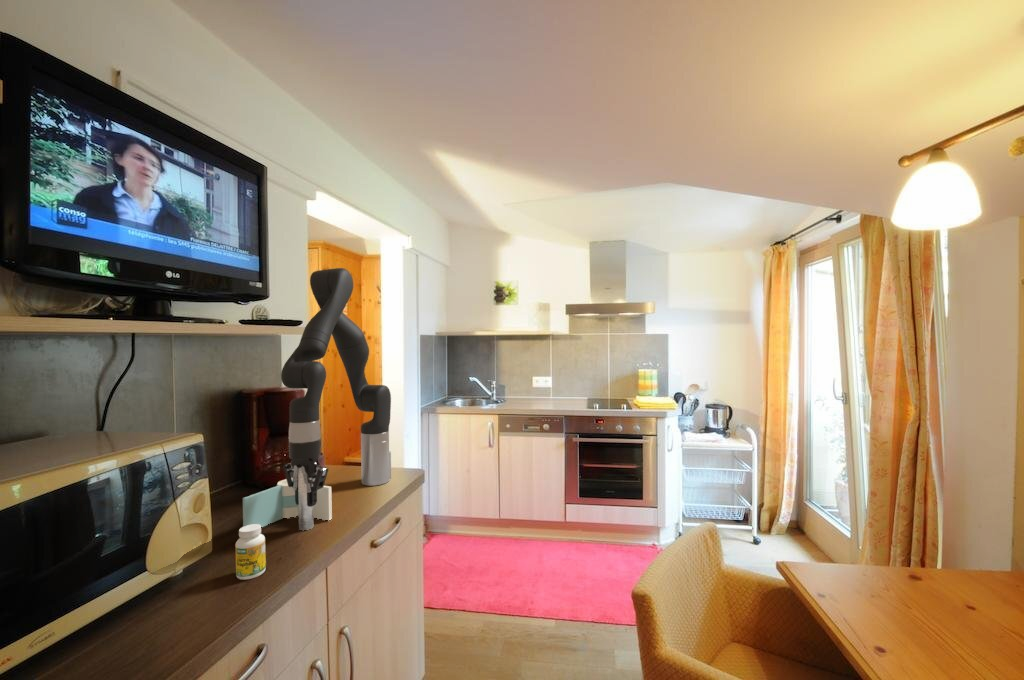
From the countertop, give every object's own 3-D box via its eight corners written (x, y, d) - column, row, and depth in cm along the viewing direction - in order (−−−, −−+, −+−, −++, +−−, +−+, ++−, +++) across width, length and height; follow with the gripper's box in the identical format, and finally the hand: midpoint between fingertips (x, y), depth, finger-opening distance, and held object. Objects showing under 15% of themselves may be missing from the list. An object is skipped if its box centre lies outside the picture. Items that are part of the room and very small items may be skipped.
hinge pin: (306, 524, 117) (305, 464, 117) (316, 526, 115) (315, 465, 116) (295, 529, 114) (294, 467, 114) (305, 532, 112) (304, 469, 112)
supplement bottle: (269, 565, 95) (268, 521, 96) (261, 578, 90) (260, 531, 90) (241, 568, 94) (240, 523, 94) (231, 582, 89) (230, 534, 89)
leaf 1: (293, 507, 129) (293, 476, 129) (311, 510, 127) (310, 479, 127) (235, 531, 113) (234, 496, 113) (254, 536, 110) (253, 500, 110)
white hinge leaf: (293, 507, 129) (293, 476, 129) (340, 515, 122) (339, 483, 122) (272, 516, 123) (271, 483, 123) (320, 525, 116) (319, 491, 116)
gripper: (336, 437, 115) (337, 503, 115) (297, 433, 121) (297, 496, 121) (313, 443, 108) (314, 513, 108) (272, 439, 114) (273, 506, 114)
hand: (305, 504), depth 115 cm, fingers closed on hinge pin, 3 cm apart
